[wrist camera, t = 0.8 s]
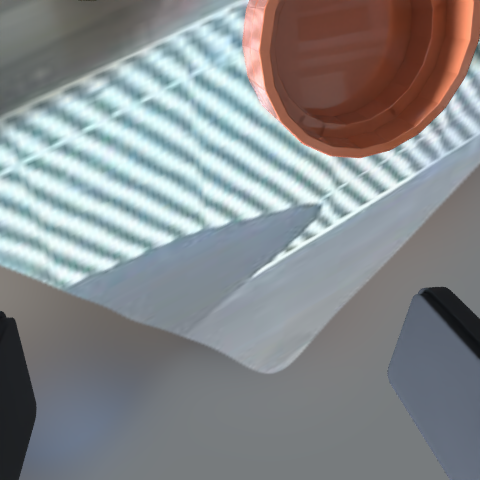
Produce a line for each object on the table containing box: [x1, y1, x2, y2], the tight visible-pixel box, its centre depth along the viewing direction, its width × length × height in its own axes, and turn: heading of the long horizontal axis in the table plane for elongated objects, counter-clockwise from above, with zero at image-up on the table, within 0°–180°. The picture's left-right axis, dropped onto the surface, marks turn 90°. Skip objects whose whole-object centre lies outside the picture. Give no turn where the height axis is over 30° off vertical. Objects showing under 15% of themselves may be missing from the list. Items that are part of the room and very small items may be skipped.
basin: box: [242, 0, 480, 158], centre depth 28 cm, size 14×14×6 cm
